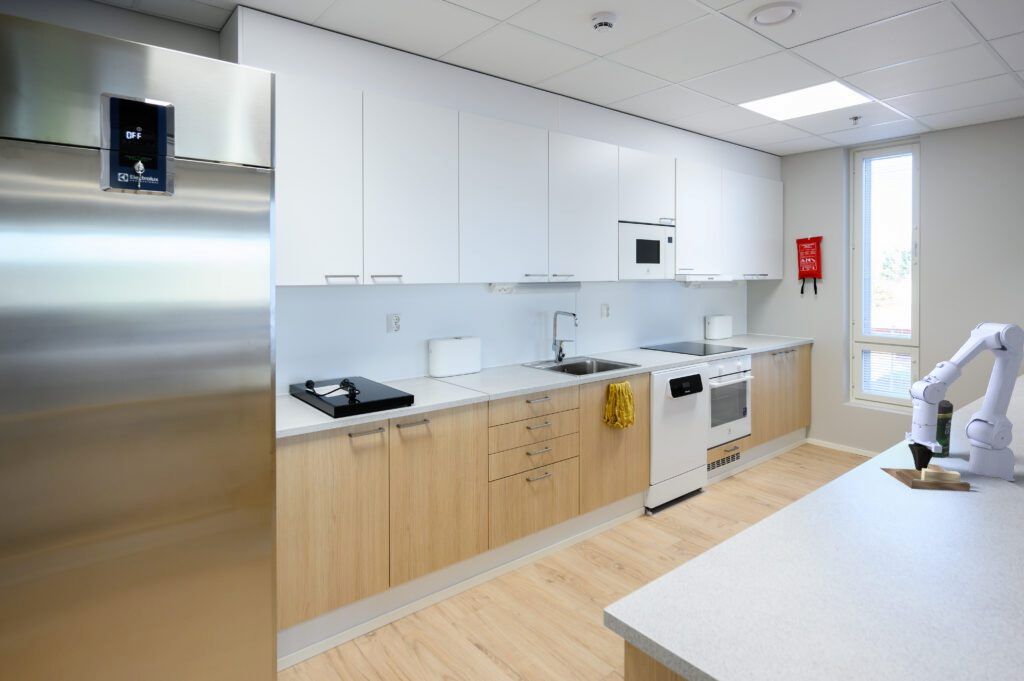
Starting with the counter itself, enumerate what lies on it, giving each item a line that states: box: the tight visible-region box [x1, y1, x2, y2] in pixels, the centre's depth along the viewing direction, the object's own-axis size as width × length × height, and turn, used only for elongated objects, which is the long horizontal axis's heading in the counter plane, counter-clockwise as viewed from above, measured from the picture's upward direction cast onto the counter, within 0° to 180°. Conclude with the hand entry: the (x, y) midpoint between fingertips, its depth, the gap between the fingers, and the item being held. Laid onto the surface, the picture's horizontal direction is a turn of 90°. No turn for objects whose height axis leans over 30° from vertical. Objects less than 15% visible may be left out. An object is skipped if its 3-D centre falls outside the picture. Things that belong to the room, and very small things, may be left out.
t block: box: [921, 463, 962, 482], centre depth 157 cm, size 8×8×4 cm
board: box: [879, 467, 971, 492], centre depth 159 cm, size 14×17×3 cm
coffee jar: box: [932, 399, 954, 459], centre depth 182 cm, size 10×8×19 cm
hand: (920, 470), depth 164 cm, fingers closed
